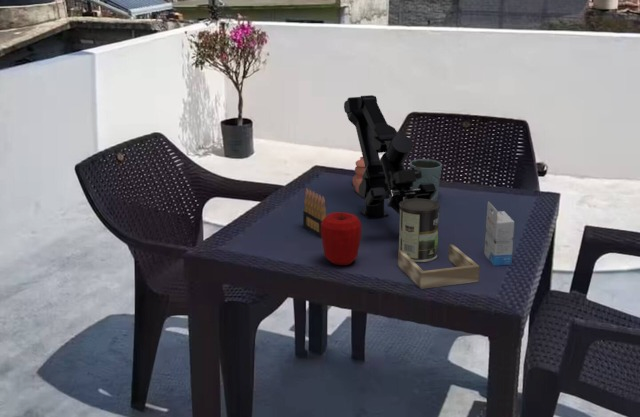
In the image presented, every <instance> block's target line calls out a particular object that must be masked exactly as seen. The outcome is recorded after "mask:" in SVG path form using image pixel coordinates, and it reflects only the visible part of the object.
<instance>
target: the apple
mask: <svg viewBox="0 0 640 417" xmlns="http://www.w3.org/2000/svg"><path fill="white" fill-rule="evenodd" d="M321 236H322V238H321V240H322V247H323V252H324V257H325V258H326V259H327V260H328V261H329V262H330V263H332V264H333V265H336V266H337V265H338V266H347V265H350V264H352V263H353V262H354V260H356V258H357V257H358V255H359V253H358V252H359V249H360V244H361V239H362V238H361V237H362V221H361V220H360V219H359V217H358V216H357V215H356V214H354V213H353V214H352V213H348V212H342V211H337V212H331V213H329V214H326V217H325V218H324V220H323V221H322V222H321Z"/></svg>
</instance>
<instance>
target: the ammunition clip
mask: <svg viewBox="0 0 640 417" xmlns="http://www.w3.org/2000/svg"><path fill="white" fill-rule="evenodd" d="M303 203H304V207H303V208H304V210H303V213H302V214H303V215H302V216H303V219H302V220H303V221H302V222H303V223H302V228H303V227H304V229H305V230H306V231H308V230H309V231H308V232H310V231H311V232H310V233H312V234H313V233H314V235H315V236H316V237H318V238H320V239H322V236H321V222H322V221H323V220H324V218H325V217H326V216H327V210H326V201H325V197H324V195H322V196H321V194H318V192H316V193H315V191H314V190H313V191H312V190H311V189H309V188H308V187H306V189H305V193H304V202H303Z"/></svg>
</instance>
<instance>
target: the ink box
mask: <svg viewBox="0 0 640 417" xmlns="http://www.w3.org/2000/svg"><path fill="white" fill-rule="evenodd" d="M486 209H487V210H486V221H485V234H484V235H485V236H484V237H485V238H484V253H483V254H484V256H485V257H486V258H487V259H488V260H489V262H490V263H491V265H492V266H495V267H497V266H512V261H513V260H512V259H513V249H514V248H513V247H514V246H513V245H514V233H515V221H514V220H513V218H512V217H511V216H509V214H507V212H506V211H505V210H502V211H501V210H500V211H498V210H497V209H496V208H495V206H494V205H493V203H491V202H490V201H489V200H488V201H487V208H486Z"/></svg>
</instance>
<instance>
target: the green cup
mask: <svg viewBox="0 0 640 417" xmlns="http://www.w3.org/2000/svg"><path fill="white" fill-rule="evenodd" d="M413 167H420V169H421V173H422V177H421V178H420V179H416V182H415V181H414V182H413V186H412V187H410V189H418V187H419V185H420V184H423V183H433V184H434V185H435V187H436V190H437V191H436V192H435V194H434V195H433V197H432V198H431V199H430V200H433V201H436V202H438V199H439V198H438V196H439V187H440V181H441V180H440V179H441V174H442V168H443V164H442V163H441V162H440V161H438V160H436V159H427V158H426V159H425V158H422V159H421V158H420V159H414V160H411V161H410V162H409V170H411V169H412V168H413Z"/></svg>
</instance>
